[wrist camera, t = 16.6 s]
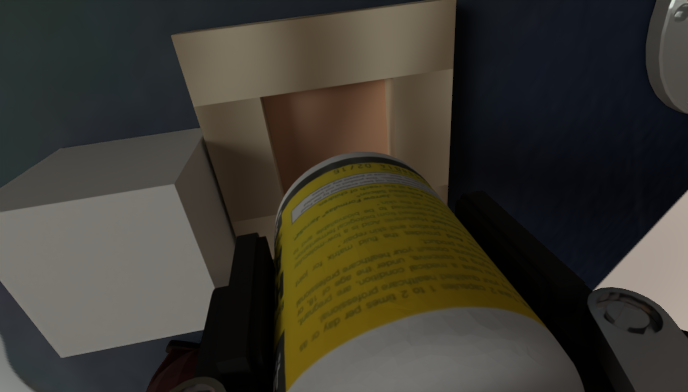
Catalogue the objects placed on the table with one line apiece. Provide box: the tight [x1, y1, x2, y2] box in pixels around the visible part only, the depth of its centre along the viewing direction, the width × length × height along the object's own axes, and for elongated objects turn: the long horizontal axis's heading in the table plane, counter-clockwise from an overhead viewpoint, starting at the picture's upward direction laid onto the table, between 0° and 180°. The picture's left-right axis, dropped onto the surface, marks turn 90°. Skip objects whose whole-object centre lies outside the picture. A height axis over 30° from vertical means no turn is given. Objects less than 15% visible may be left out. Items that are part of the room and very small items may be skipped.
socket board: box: [171, 0, 456, 259], centre depth 18 cm, size 12×12×2 cm
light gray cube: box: [0, 128, 236, 358], centre depth 17 cm, size 7×7×7 cm
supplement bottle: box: [273, 152, 585, 392], centre depth 8 cm, size 5×5×10 cm
